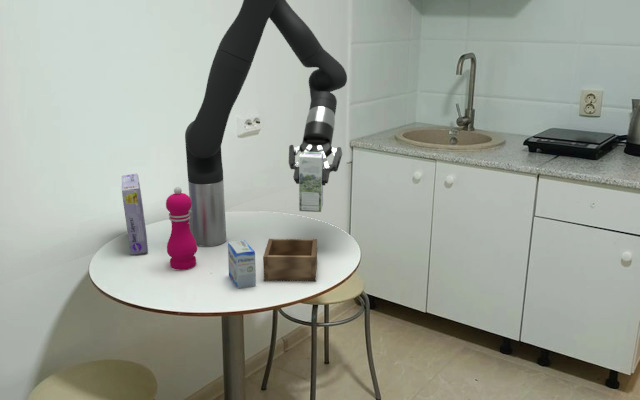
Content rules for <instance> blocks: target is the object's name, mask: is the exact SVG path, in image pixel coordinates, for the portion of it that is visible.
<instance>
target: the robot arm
mask: <svg viewBox="0 0 640 400" xmlns="http://www.w3.org/2000/svg"><path fill="white" fill-rule="evenodd" d="M269 19H270V21H271V22H272V23H273V25H275V27H276V29H277V30H278V31H279V33H280V35H281V36H282V37H283V39H285V41H286V43H287V44H288V45H289V47H290V48H291V50H292V52H293V53H294V54H295V56H296V57H297V60H299V62H300V63H301V64H302V66H303V67H305V68H306V69H307V68H310V69H311V68H317V69H315V70H313V71H312V72H311V73H310V75H309V77H308V87H309V93H310V94H309V96H310V103H309V110H308V115H307V117H306V120H305V126H304V131H303V138H302V142H301V144H300V145H299V146H294V145H293V144H290V145H289V146H288V165H289V168H290V170H294V172H293V180H294V182H295V184H296V185H299V159H298V160H297V161H296V156H297V155H298V154H299V152H300V153H301V152H323V174H322V185H323V186H326V184H328V183H329V178H330V174H331V172H336V173H337V172H338V170H339V166H340V163H341V160H342V156H343V150H342V147H341V146H337V148H335V147H333V146H332V143H333V137H334V131H335V125H336V123H335V119H336V118H335V117H336V112H337V105H338V104H337V103H338V100H337V97H336V96H335V94H333V93H332V92H334V91H338V90H340V89H342V88H343V87H345V86H346V85H347V82H348V75H347V72H346V69H345V68H344V66H343V65H342V64H341V63H340V62H339V61H338V60H337V59H335V58H334V56H332V55H331V54H330V53H329V52H328V51H327V50H325V49H324V47H323V46H322V45H321V43H320V41H319V40H318V38H317V37H316V36H315V33H314V32H313V31H312V30H311V28H310V27H309V26H308V25H307V24H306V22H305V21H304V20H303V19H302V18H301V17H300V16H299V15H298V14H297V12H295V10H293V8H292V6H291V5H290V4H289V3H288V2H287V0H243V1H242V5H241V7H240V9H239V12H238V14H237V16H236V18H235V19H234V20H233V22H231V25H230V26H229V27H228V28H227V31H226V32H225V34H224V35H223V37H222V38H221V40H220V43H219V45H218V46H217V48H216V49H217V50H216V52H215V55H214V56H213V57H214V58H213V60H212V63H211V65H210V66H211V67H210V69H209V73H208V77H207V82H206V87H205V93H204V96H203V100H202V103H201V106H200V107H199V109H198V113H197V114H196V117H195V119H194V120H193V121H191V122H190V124H188V126H187V127H186V130H185V132H184V133H185V134H184V138H185V139H184V140H185V153H186V171H187V181H188V182H187V183H188V194H189V195H188V196H189V197H190V199H191V202H192V206H191V208H190V210H189V212H190V219H189V227H190V231H191V233H192V235H193V237H194V239H195V241H196V244H197V247H215V246H219V245H222V244H224V243H226V241H227V226H226V225H227V224H226V208H225V207H226V206H225V202H226V201H225V189H224V187H225V185H224V183H225V182H224V168H223V160H222V158H223V157H222V143H223V139H224V135H225V131H226V128H227V124H228V121H229V116H230V115H231V112H232V109H233V107H234V105H235V103H236V101H237V99H238V98H239V95H240V93H241V91H242V88H243V86H244V84H245V81H246V80H247V77H248V75H249V72H250V69H251V67H252V64H253V61H254V58H255V56H256V53H257V50H258V49H259V45H260V42H261V39H262V36H263V34H264V30H265V29H266V25H267V23H268V22H269ZM331 154H332V155H333V160H332V161H331V162H332V163H331V164H329V161H328V159H327V158H328V157H329V156H331Z"/></svg>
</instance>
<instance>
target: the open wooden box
mask: <svg viewBox="0 0 640 400" xmlns="http://www.w3.org/2000/svg"><path fill="white" fill-rule="evenodd" d="M264 249H265V250H264V253H263V256H262V260H263V261H262V264H263V265H262V266H263V281H264V282H316V281H317V270H318V269H317V268H318V239H317V238H268V240H267V243H266V247H265V248H264Z"/></svg>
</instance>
